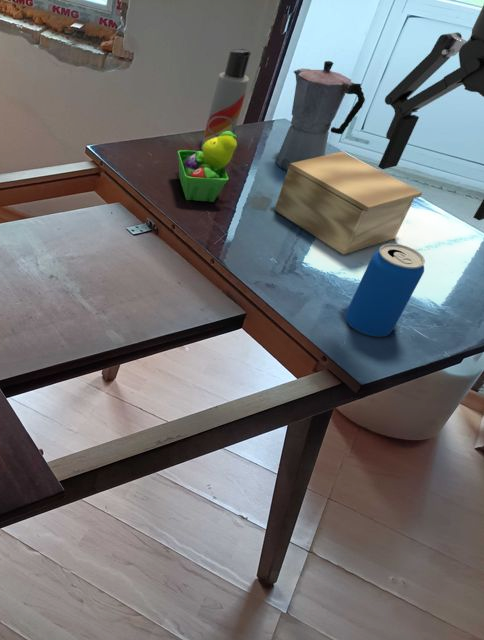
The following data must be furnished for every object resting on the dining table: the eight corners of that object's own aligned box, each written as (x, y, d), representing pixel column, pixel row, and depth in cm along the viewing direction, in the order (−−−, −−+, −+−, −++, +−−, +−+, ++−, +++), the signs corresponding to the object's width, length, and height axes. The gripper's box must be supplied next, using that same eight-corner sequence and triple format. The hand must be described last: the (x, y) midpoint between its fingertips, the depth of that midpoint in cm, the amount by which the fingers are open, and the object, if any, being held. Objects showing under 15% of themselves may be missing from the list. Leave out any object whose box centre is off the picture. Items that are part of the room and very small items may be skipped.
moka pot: (281, 146, 143) (313, 47, 130) (347, 175, 135) (389, 72, 122) (254, 157, 139) (284, 55, 125) (321, 188, 130) (361, 82, 117)
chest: (393, 242, 116) (415, 195, 110) (341, 258, 111) (362, 210, 105) (323, 200, 126) (340, 155, 120) (272, 213, 121) (288, 167, 115)
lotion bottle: (215, 159, 137) (243, 56, 124) (194, 149, 140) (219, 47, 127) (234, 153, 139) (263, 51, 126) (213, 143, 143) (239, 42, 130)
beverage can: (368, 308, 101) (402, 238, 93) (400, 335, 96) (439, 264, 89) (333, 316, 99) (365, 246, 91) (365, 344, 95) (401, 272, 87)
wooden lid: (420, 196, 110) (422, 192, 109) (367, 212, 105) (369, 207, 104) (340, 155, 120) (342, 151, 120) (288, 167, 115) (290, 163, 115)
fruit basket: (171, 174, 131) (184, 116, 123) (217, 177, 131) (233, 120, 124) (179, 203, 122) (193, 143, 115) (229, 207, 122) (246, 147, 115)
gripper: (402, -26, 76) (333, 152, 90) (637, 44, 60) (509, 248, 74) (445, -30, 79) (371, 143, 93) (680, 36, 63) (549, 234, 77)
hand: (432, 190), depth 84 cm, fingers open, 13 cm apart
